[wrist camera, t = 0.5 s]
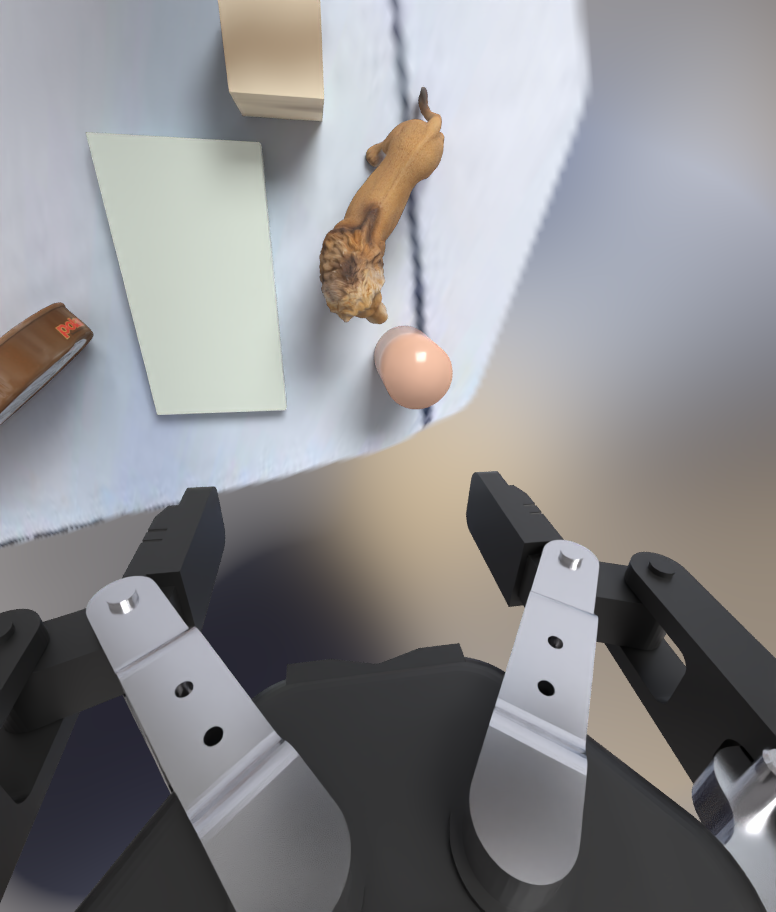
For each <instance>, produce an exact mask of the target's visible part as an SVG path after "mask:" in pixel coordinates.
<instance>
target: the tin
mask: <svg viewBox="0 0 776 912" xmlns="http://www.w3.org/2000/svg"><path fill="white" fill-rule="evenodd" d="M92 337H93V332H92V331H91V330H90V329H89V328H88V327H87V326H86V325H85V324H84V323H83V322H82V321H81V320H79V319H78V318H77V317H76V316H75V315H74V314H72V313H71V312H70V311H69V310H68V309H67V308H66V307H65V305H64V304H63V303H60V302H59V303H54V304H52V305H50V306H48V307H46V308H44V309H42V310H40V311H38V312H37V313H35V314H33V315H32V316H30V317H29V318H27V319H25V320H24V321H23V322H21V323H19V324H18V325H16V326H15V327H14V328H12V329H11V330H10V331H8V332H7V333H6V334H5V335H3V336H2V337H1V338H0V425H1V424H2V423H3V422H4V421H6V420H7V419H8V418H9V417H10V416H11V415H12V414H14V413H15V412H16V411H17V410H18V409H19V408H20V407H21V406H22V405H24V404H25V403H26V402H27V401H28V400H29V399H30V398H31V397H33V396H34V395H35V394H36V393H37V392H38V391H39V390H40V389H42V388H43V387H44V386H45V385H46V384H47V383H48V382H49V381H50V380H51V379H52V378H53V377H54V376H56V375H57V374H58V373H59V372H60V371H61V370H62V369H63V368H64V367H65V366H66V365H67V364H68V363H69V362H70V361H71V360H72V359H73V358H74V357H75V356H76V355H77V354H78V353H79V352H80V351H81V350H82V349H83V348H84V347H85V346H86V345H87V344H88V343H89V342H90V341H91V339H92Z"/></svg>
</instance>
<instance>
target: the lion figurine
mask: <svg viewBox="0 0 776 912" xmlns="http://www.w3.org/2000/svg"><path fill="white" fill-rule="evenodd" d="M427 99H428V94H427V90H426V88H425V87H422V88H421V91H420V95H419V100H418V101H419V107H420V110H421V113H422V115H423V116H424V118H425V119H426V120H427V121H428V122H427V123H426V122H424V121H423V120H419V119H412V120H408V121H405V122H403V123H401V124H399V125H398V126H396V127H395V128H394V129H393V130H392V131H391V132H390V133H389V135H388V136H387V138H386V139H385V140H384V141H383V142H381V143H379V144H376V145H374V146H372V147H370V148H369V149H368V150H367V152H366V160H367V162H368V163H369V164H370V165H371V166H373V167H377V166H378V167H377V168H376V169H375V170H374V172H373V173H372V174H371V175H370V176H369V178H368V179H367V180H366V181H365V183H364V184H363V185H362V186H361V188H360V189H359V190H358V191H357V193H356V194H355V196H354V197H353V199H352V201H351V203H350V205H349V207H348V209H347V211H346V214H345V217H344V220H342V221H340V222H339V223H337V225H336V226H335V227H334V229H333V230H331V231H330V232H329V233H328V234H327V235H326V237H325V239H324V241H323V244H322V245H323V247H322V250H321V254H320V266H319V267H320V274H321V275H320V281H321V282H322V287H321V290H322V293H323V294H324V297H325V298H326V302H327V306H328V307H329V308H330V311H331V312H333V313H336V314H338V316H339V317H340V318H341V319H342V320H344V322H348V321H349V320H350V319H351V318H353V316H356V317H359V318H366V319H367V320H368V321H369V322H370V323H373V324H382V323H384V322H385V321H386V320H387V318H388V315H387V313H386V307H385V306H384V304H383V303H382V302H381V300H382V296H381V292H380V291H381V288H382V286H383V284H384V282H385V279H384V275H383V273H384V270H383V265H384V264H383V259H382V257H383V255H384V252H385V241H386V239H387V238H388V237H389V235H390V234H391V233H392V231H393V230H394V228H395V227H396V225H397V223H398V221H399V219H400V217H401V215H402V212H403V210H404V208H405V205H406V203H407V200H408V198H409V195H410V193H411V191H412V189H413V188H414V186H415V185H416V184H417V183H418V182H419V181H421V180H423V179H426V178H428V177H429V176H430V175H431V174H432V172H433V171H434V170H435V169H436V168H437V166H438V165H439V163H440V161H441V157H442V154H443V144H444V135H443V134H442V133H441V132H440V129H441V124H442V119H441V116H440V115H439V114H436V113H433V112H431V111H430V109H429V107H428V100H427Z"/></svg>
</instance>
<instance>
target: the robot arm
mask: <svg viewBox="0 0 776 912" xmlns="http://www.w3.org/2000/svg"><path fill="white" fill-rule="evenodd" d="M466 517H467V525H468V528H469V531H470V533H471V535H472V537H473V539H474V540H475V542H476V544H477V546H478V548H479V550H480V552H481V554H482V556H483V558H484V560H485V562H486V564H487V566H488V567H489V569H490V571H491V573H492V575H493V577H494V579H495V581H496V583H497V585H498V587H499V589H500V591H501V592H502V595H503V596H504V598H505V600H506V602H507V604H508V606H509V607H512V606H520V605H524V607H525V610H524V613H523V616H522V620H521V623H520V626H519V630H518V633H517V636H516V639H515V643H514V646H513V649H512V653H511V656H510V660H509V662H508V666H507V669H506V672H504V671H502V670H501V669H499V668H497V667H495V666H493V665H491V664H489V663H486V662H483V661H480V660H476V659H472V658H467V657H464V655H463V652H462V650H461V647H460V644H459V643H458V644H449V645H441V646H433V647H426V648H418V649H416V650H413V651H411V652H408V653H405V654H403V655H400V656H398V657H395V658H393V659H390V660H387V661H385V662H382V663H379V664H371V663H361V662H353V661H345V660H335V659H327V660H319V661H311V662H302V663H294V664H287V676H286V680H283V681H280V682H278V683H276V684H274V685H272V686H270V687H268V688H267V689H265V690H264V691H262V692H260V693H259V694H257V695H256V696H255V697H254V698H252V699H250V697H249V696H248V695H247V694H246V692H245V691H244V689H243V688H242V687H241V685H240V684H239V683H238V681H237V680H236V679H235V677H234V676H233V675H232V674H231V672H230V671H229V670H228V668H227V667H226V665H225V664H224V663H223V661H222V660H221V659H220V657H219V656H218V655H217V653H216V652H215V651H214V649H213V648H212V647H211V646H210V644H209V643H208V641H207V640H206V639H205V637H204V636H203V635H202V633H201V631H202V627H203V624H204V620H205V616H206V613H207V609H208V605H209V602H210V598H211V594H212V591H213V587H214V584H215V580H216V576H217V573H218V569H219V565H220V562H221V558H222V554H223V551H224V546H225V528H224V523H223V518H222V513H221V507H220V502H219V498H218V493H217V489H216V488H215V487H196V488H187V489H186V491H185V493H184V495H183V497H182V499H181V502H180V504H179V505H174V506H168V507H167V508H165V509H164V510H163V511H162V512H161V513H159V514H158V515H157V516H156V517H155V518H154V520H153V522H152V524H151V525H150V527H149V529H148V532H147V533H146V535H145V537H144V539H143V543H141V544H140V546H139V548H138V549H137V551H136V553H135V555H134V557H133V559H132V560H131V562H130V564H129V566H128V568H127V570H126V572H125V574H124V575H123V577H122V579H120V580H117V581H114V582H112V583H110V584H108V585H107V586H105V587H103V588H102V589H101V590H100V591H98V592H97V593H96V594H95V595H94V596H93V597H92V598H91V600H90V601H89V603H88V605H87V608H85V609H83V610H80V611H77V612H74V613H71V614H67V615H64V616H61V617H58V618H55V619H51V620H48V621H45V622H42V620H41V618H40V617H39V615H38V614H37V613H36V612H34V611H32V610H29V609H16V610H10V611H6V612H3V613H0V902H1V900H2V897H3V895H4V892H5V890H6V888H7V885H8V883H9V880H10V878H11V876H12V873H13V871H14V868H15V866H16V863H17V861H18V859H19V856H20V854H21V852H22V849H23V847H24V844H25V842H26V840H27V837H28V835H29V832H30V830H31V828H32V825H33V823H34V820H35V818H36V816H37V813H38V811H39V808H40V806H41V804H42V801H43V799H44V796H45V794H46V792H47V789H48V787H49V784H50V782H51V780H52V777H53V775H54V772H55V770H56V768H57V765H58V763H59V760H60V758H61V756H62V753H63V751H64V749H65V746H66V744H67V741H68V738H69V736H70V734H71V732H72V729H73V727H74V724H75V722H76V720H77V717H78V715H79V713H80V711H83V710H85V709H88V708H90V707H93V706H95V705H98V704H100V703H103V702H105V701H108V700H110V699H113V698H115V697H118V696H120V695H123V696H124V698H125V700H126V702H127V704H128V706H129V708H130V711H131V713H132V715H133V717H134V719H135V720H136V723H137V725H138V727H139V729H140V731H141V733H142V735H143V737H144V739H145V741H146V743H147V745H148V747H149V749H150V751H151V753H152V755H153V757H154V759H155V762H156V763H157V766H158V768H159V770H160V772H161V774H162V776H163V778H164V781H165V783H166V785H167V787H168V789H169V791H170V793H171V794H170V796H169V797H168V798H167V799H166V800H165V801H164V803H163V804H162V805H161V806H160V808H159V809H158V810H157V811H156V813H155V814H154V815H153V816H152V817H151V819H150V820H149V821H148V822H147V823H146V825H145V826H144V827H143V828H142V830H141V831H140V832H139V833H138V835H137V836H136V837H135V838H134V839H133V841H132V842H131V843H130V844H129V846H128V847H127V848H126V849H125V850H124V852H123V853H122V854H121V855H120V857H119V858H118V859H117V860H116V861H115V863H114V864H113V865H112V866H111V867H110V869H109V870H108V871H107V872H106V874H105V875H104V876H103V877H102V879H101V880H100V881H99V882H98V883H97V885H96V886H95V887H94V888H93V890H92V891H91V892H90V893H89V894H88V896H87V897H86V898H85V899H84V901H83V902H82V903H81V904H80V905H79V907H78V908H77V909H76V910H75V912H776V658H775V657H773V655H771V653H770V652H769V651H768V650H767V649H765V647H763V646H762V645H761V644H760V643H759V642H758V641H757V640H756V639H755V638H754V637H753V636H752V635H751V634H750V633H749V632H748V631H747V630H746V629H745V628H744V627H743V626H742V625H741V624H740V623H739V622H738V621H737V620H736V619H735V618H734V617H733V616H732V615H731V614H730V613H729V612H728V611H727V610H726V609H725V608H724V607H723V606H722V605H721V604H720V603H719V602H718V601H717V600H716V599H715V598H714V597H713V596H712V595H711V594H710V593H709V592H708V591H707V590H706V589H705V588H704V587H703V586H702V585H701V584H700V583H699V582H698V581H697V580H696V579H695V578H694V577H693V576H692V575H691V574H690V573H689V572H688V571H687V570H686V569H685V568H684V567H683V566H681V565H680V564H678V563H677V562H675V561H673V560H672V559H670V558H668V557H665V556H663V555H660V554H656V553H651V552H639V553H636V554H634V555H633V556H632V558H631V560H630V562H629V565H628V566H625V565H618V564H612V563H605V562H599V561H598V559H597V557H596V556H595V555H594V554H593V553H592V552H591V551H590V550H589V549H587V548H586V547H584V546H582V545H580V544H578V543H575V542H572V541H567V540H564V539H563V538H562V537H561V536H560V535H559V533H558V532H557V531H556V529H554V527H553V526H552V524H551V523H550V522H549V521H548V519H547V518H546V517H545V516H544V515H543V514H541V511H540V510H539V508H538V507H537V506H535V503H534V502H533V501H532V500H531V498H530V497H529V496H528V495H527V494H526V493H525V492H523V491H522V490H520V489H519V488H517V487H515V486H514V485H508V484H507V483H506V481H505V480H504V479H503V478H502V476H501V475H500V474H499V473H498V472H497V471H492V472H475V473H474V474H473V475H472V478H471V484H470V491H469V498H468V504H467V512H466ZM666 633H667V634H668V636H669V637H670V638H671V639H672V641H673V642H674V643H675V644H676V646H677V647H678V648H679V649H680V651H681V652H682V654H683V656H684V659H685V663H686V666H685V665H684V664H683V662H682V661H681V660H680V659H679V657H678V656H677V655H676V654H675V652H674V651H673V650H672V648H671V647H670V646H669V645H668V643H667V642H666V641H665V639H664V636H665V635H666ZM596 642H602V643H605V645H606V646H607V648H608V650H609V651H610V653H611V654H612V656H613V657H614V659H615V661H616V662H617V664H618V665H619V667H620V669H621V670H622V672H623V673H624V675H625V676H626V678H627V680H628V681H629V683H630V684H631V686H632V687H633V689H634V691H635V692H636V694H637V695H638V697H639V698H640V700H641V702H642V703H643V705H644V706H645V708H646V709H647V711H648V713H649V714H650V716H651V717H652V719H653V720H654V722H655V724H656V725H657V727H658V728H659V730H660V732H661V733H662V735H663V736H664V738H665V739H666V741H667V743H668V744H669V746H670V747H671V749H672V751H673V752H674V754H675V755H676V757H677V758H678V760H679V761H680V763H681V765H682V766H683V768H684V770H685V771H686V773H687V774H688V776H689V777H690V779H691V781H692V782H693V787H692V800H693V805H694V807H695V810H696V813H697V814H698V817H699V819H700V821H701V822H700V821H698V820H697V819H696V818H694V816H692V815H691V814H690V813H688V812H687V811H686V810H685V809H683V808H682V807H681V806H679V805H678V804H677V803H676V802H674V801H673V800H672V799H670V798H669V797H668V796H666V795H665V794H664V793H663V792H661V791H660V790H659V789H657V788H656V787H655V786H653V785H652V784H651V783H650V782H648V781H647V780H646V779H644V778H643V777H642V776H640V775H639V774H638V773H637V772H635V771H634V770H633V769H631V768H630V767H629V766H628V765H626V764H625V763H624V762H622V761H621V760H620V759H618V758H617V757H616V756H614V755H613V754H612V753H611V752H609V751H608V750H606V749H605V748H604V747H603V746H602V745H600V744H599V743H597V742H596V741H595V740H594V739H592V738H591V737H590V736H589V735H587V724H588V715H589V705H590V696H591V686H592V676H593V667H594V657H595V647H596Z"/></svg>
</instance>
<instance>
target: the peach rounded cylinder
mask: <svg viewBox="0 0 776 912" xmlns="http://www.w3.org/2000/svg"><path fill="white" fill-rule="evenodd" d="M374 362H375V366H376V369H377V371H378V373H379V375H380V377H381V379H382V381H383V383H384V385H385V387H386V389H387V391H388V393H389V395H390V396H391V398H392V399H393V400H394V401H395V402H396V403H398V404H399V405H401V406H403V407H405V408H409V409H423V408H426V407H429V406H431V405H433V404H435V403H437V402H438V401H439V400H440V399H441V398H442V397H443V396H444V395H445V394H446V392H447V391H448V389H449V387H450V384H451V381H452V372H453V371H452V365H451V361H450V359H449V357H448V355H447V354H446V353H445V351H443V350H442V349H441V348H440V347H439V346H438V345H437V344H436V343H434V342H433V341H432V340H431V339H430V338H429V337H427V336H426V335H425V334H424V333H423V332H421V331H420V330H418V329H417V328H414V327H411V326H398V327H395V328H392V329H390V330H389V331H387V332H386V333H385V334H384V335H383V336H382V337H381V338H380V339H379V341H378V343H377V345H376V348H375V352H374Z"/></svg>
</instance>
